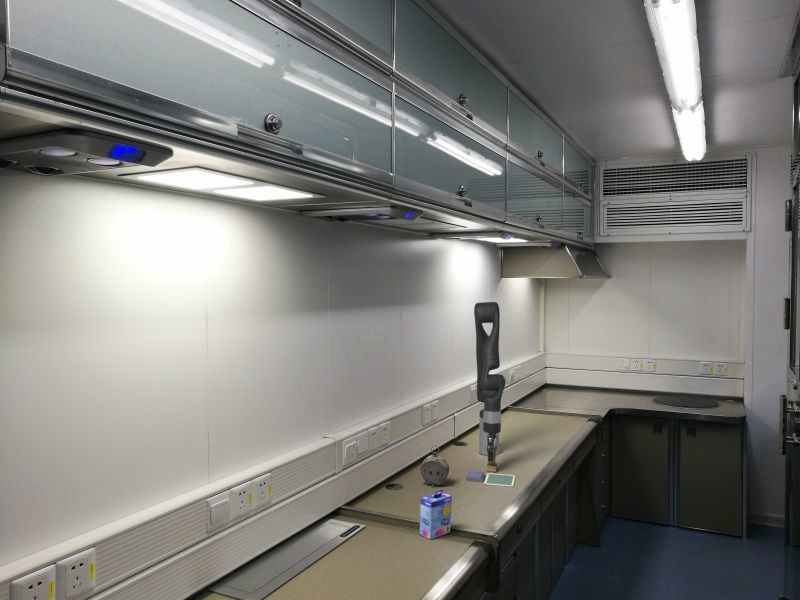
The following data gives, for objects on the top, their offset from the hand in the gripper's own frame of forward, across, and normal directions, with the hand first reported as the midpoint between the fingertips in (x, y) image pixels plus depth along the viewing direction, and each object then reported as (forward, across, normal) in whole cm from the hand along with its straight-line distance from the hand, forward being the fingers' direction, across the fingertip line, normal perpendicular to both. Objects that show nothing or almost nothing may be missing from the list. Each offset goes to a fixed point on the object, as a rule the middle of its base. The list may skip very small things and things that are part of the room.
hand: (491, 458), depth 272 cm
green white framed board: (+6, +12, +5) cm, 14 cm away
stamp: (+5, 0, 0) cm, 5 cm away
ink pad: (+6, +12, -5) cm, 14 cm away
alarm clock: (+6, +27, -20) cm, 34 cm away
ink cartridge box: (+6, +73, -10) cm, 74 cm away
